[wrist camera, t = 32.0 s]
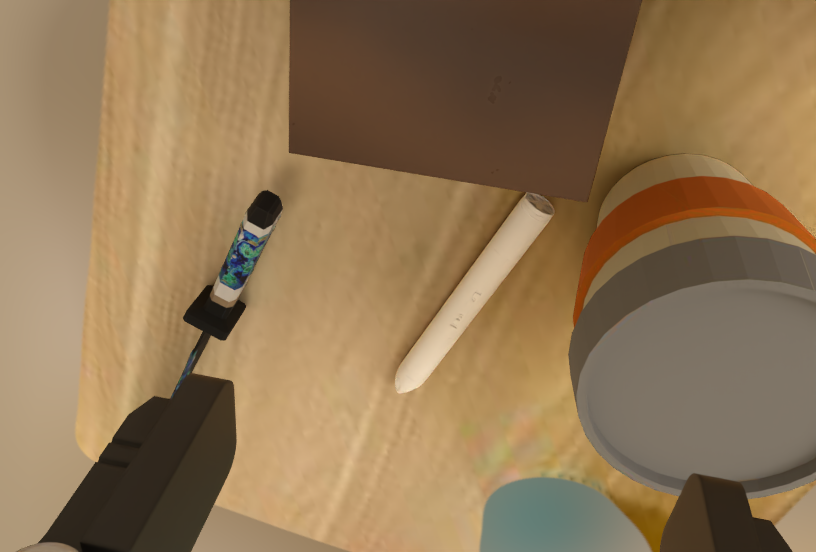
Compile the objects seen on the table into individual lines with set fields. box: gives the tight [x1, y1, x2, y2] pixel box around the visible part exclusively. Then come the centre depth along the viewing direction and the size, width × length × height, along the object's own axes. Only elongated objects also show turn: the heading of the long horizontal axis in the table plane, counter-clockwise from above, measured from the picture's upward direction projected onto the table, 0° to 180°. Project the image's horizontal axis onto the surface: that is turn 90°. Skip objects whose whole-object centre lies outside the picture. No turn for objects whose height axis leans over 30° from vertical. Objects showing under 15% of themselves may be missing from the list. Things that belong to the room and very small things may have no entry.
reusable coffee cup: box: [569, 154, 816, 499], centre depth 36 cm, size 12×13×15 cm
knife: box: [170, 190, 283, 399], centre depth 51 cm, size 31×3×4 cm, turn 148°
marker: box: [395, 192, 555, 393], centre depth 47 cm, size 18×2×2 cm, turn 152°
